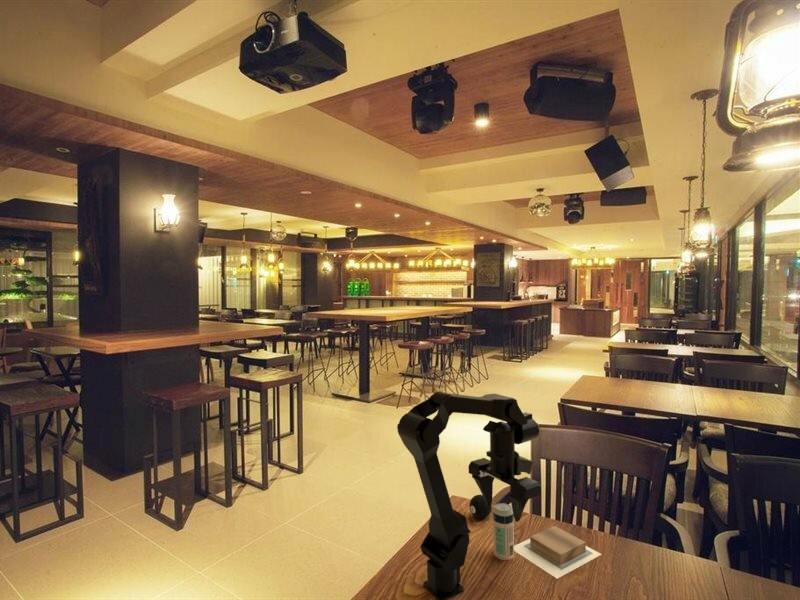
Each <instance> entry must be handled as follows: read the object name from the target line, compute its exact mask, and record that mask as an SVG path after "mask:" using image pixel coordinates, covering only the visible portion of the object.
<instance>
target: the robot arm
mask: <svg viewBox="0 0 800 600" xmlns="http://www.w3.org/2000/svg"><path fill="white" fill-rule="evenodd" d="M435 413H437V414H436V415H435V416H434V417H433V418H429V417H430V416H432V415H434V414H435ZM453 413H456V414H469V415H480V416H486V417H489V418H493V419H496V420H499V421H498V422H496V421H493V420H489V421H488V423H486V425H484V427H483V429H482V430H483V432H488V433H489V443H490V444H489V450H488V451H486V457H489V459H487V458H485V457H482V458H478V459H476V460H475V459H474V460H472V461H470V463H469V464H468V474H469V475H471V478H472V479H473V480H474V482H475V484H476V485H477V487H478V489H479V491H480V494H481V495H483V497H484V499H485V501H486V503H487V505H488V506H490V505H491V506H493V505H492V504H493V488H494V485H493V484H494V481H495V479H496V480H497V481H501V482H502V483H505V484H506V485H509V486H510V487H509V489H510V490H509V492H510V493H511V494H509V499H510V504H511V505H510V506H511V507H512V510H513V516H514V521H515V522H516V523H517V522H519V521H520V520H521V518H522V515H523V513H524V510H525V507H526V505H527V503H528V501H529V500H530V499H532V498H535V497H538V496H540V495H542V485H541V484H540V483H539V481H536V479H535V480H534V479H532V478H530V477H528V476H525V477H522V478H516V477H515V476H518V477H519V476H521V475H522V473H525V474H527V475H531V473H532V469H533V463H534V461H533V460H531V459H529V458H526V457H525V456H524V457H523V456H521V455H520V454H519V452H518V451H517V450H515V445H520V444H525V443H527V442H530V441H533V440H536V439H537V438H538V437H539V434H540V428H539V426H538V423H537V422H536V420H535V419H534V418H533V413H530V412H527V411H524V412H523V411H522V410H521V408H520V406H519V403H518V400H517V399H516V398H515V397H510V396H507V395H503V394H498V393H488V394H484V395H481V396H474V395H466V394H465V395H463V394H458V393H457V394H456V393H447V392H444V391H435V392H434V393H432V395H430V396H429V397H428V399H426V400H424V401H422V402H420V403H418V404H416V405H415V406H413V407H412V408H411V409H410V410H409V411H408V412H407V413H404V415H402V416H401V418H400V420H399V422H398V424H396V425H397V427H396V429H397V434H398V435H399V437H400V439H401V442H402V444H403V446H405V448H406V449H407V451H408V452H409V453H410V454H411V456H412V457H413V459H414V461H415V466H416V468H417V472H418V475H419V479H420V482H421V484H422V488H423V492H424V495H425V498H426V502H427V505H428V509H429V510H430V517H429V521H428V530H429V531H428V532H427V534H426V536H425V537H424V540H423V541H422V543H421V544H420V547H419V548H420V550H421V553H422V554H423V555H424V556H425V557H427V558H428V560H426V570H427V571H426V572H427V573H426V574H427V575H426V576H427V577H426V580H424V582H422V583H423V586H424V588H425V589H427V591H429V592H430V593H431V594H432V596H434V597H435V598H436V599H437V600H448V599H449V598H451V597H454V596H456V595H458V594H460V593H462V592H464V590H465V587H464V586H463V585H462V584H461V567H463V566H465V562H466V558H467V553H468V549H469V543H470V533H471V530H470V529H469V527H468V526H469V525H468V521H467V518H466V515H464V514H462V513H461V512H459V511H457V510H456V509H454V508H453V505H452V501H451V498H450V497H451V496H450V495H449V491H448V488H447V484H446V481H445V478H444V473H443V469H442V467H441V464H440V460H439V457H438V450H439V447H440V443H441V441H440V440H441V439H440V436H441V434H442V433H443V432H444V431H445V429H446V428H447V425H448V423H449V420H450V417H451V416H452V414H453Z"/></svg>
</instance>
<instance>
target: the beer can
mask: <svg viewBox="0 0 800 600" xmlns="http://www.w3.org/2000/svg"><path fill="white" fill-rule="evenodd" d="M492 515H493V516H492V517H493V518H492V521H493V522H492V527H493V528H492V530H493V555H494V557H496V558H497V559H499V560H501V561H502V560H503V561H509V560H512V559H514V557H515V551H514V546H515V535H514V533H515V529H514V528H515V527H514V521H515V519H514V515H513V510H512V505H510V504H507V503H506V502H505V503H503V502H498V503H496V504H495V505H494V508H492Z"/></svg>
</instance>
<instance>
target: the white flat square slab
mask: <svg viewBox="0 0 800 600" xmlns="http://www.w3.org/2000/svg"><path fill="white" fill-rule="evenodd" d="M514 553H517V554H518V555H520V556H522V557H523V559H526V560H527V561H529V562H530V563H532V564H534V565H536V566H537V567H538V568H540V569H541V570H543V571H544V572H546V573H548V574H549V575H550V576H552V577H554V578H555V579H559V578H562V577H563V576H565V575H567V574H569V573H570V572H573V571H574V570H576V569H577V568H580V567H581V566H583V565H585V564H587V563H589V562H590V561H592V560H594V559H596V558H598V557H599V556H602V553H600V552H599V551H597V550H595V549H592V548H591V547H589V546H587V545H586V553H584V554H582V555H580V556H578V557H576V558H574V559H573V560H571V561H569V562H567V563H565V564H563V565H559V564H558V563H556V562H554V561H553V560H551V559H550V558H548V557H546V556H545V555H543V554H541V553H540V552H538V551H537V550H535V549H533V548H532V547H530V538H528V539H526V540H523V541H522V542H520V543H518V544H514Z"/></svg>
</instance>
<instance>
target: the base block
mask: <svg viewBox="0 0 800 600" xmlns="http://www.w3.org/2000/svg"><path fill="white" fill-rule="evenodd" d="M529 537H530V538H529V539H530V547H532V548H533V549H535V550H537V551H538V552H540V553H541V554H543V555H545V556H546V557H548V558H550V559H551V560H553V561H554V562H556V563H558V564H559V565H563V564H565V563H567V562H569V561H571V560H573V559H574V558H576V557H578V556H580V555H582V554H584V553H586V546H587V544H586V543H587V542H586V541H584V540H582V539H580V538H578V537H577V536H574V535H573V534H571V533H570V532H567V531H566V530H563V529H561V528H560V527H558V526H557V525H553V526H551V527H549V528H546V529H544V530H542V531H540V532H538V533H535V534H533V535H530V536H529Z"/></svg>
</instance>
